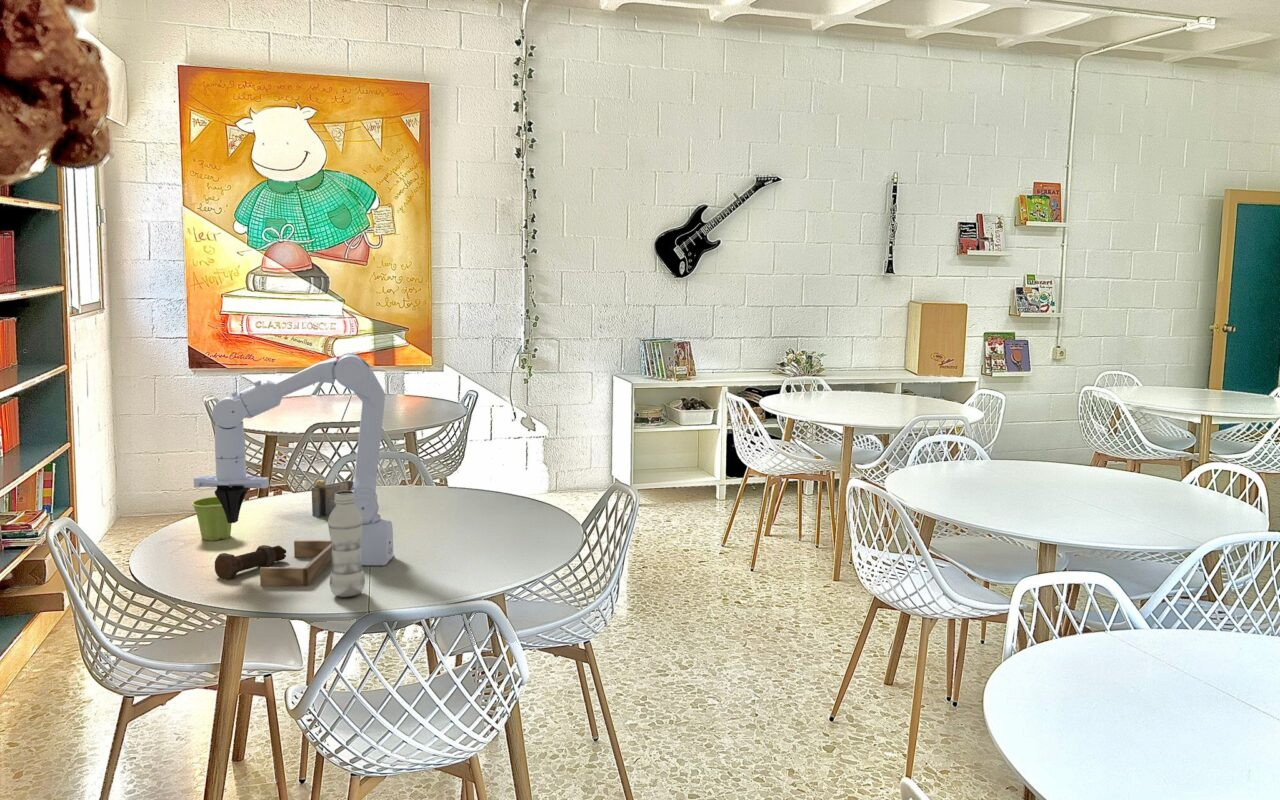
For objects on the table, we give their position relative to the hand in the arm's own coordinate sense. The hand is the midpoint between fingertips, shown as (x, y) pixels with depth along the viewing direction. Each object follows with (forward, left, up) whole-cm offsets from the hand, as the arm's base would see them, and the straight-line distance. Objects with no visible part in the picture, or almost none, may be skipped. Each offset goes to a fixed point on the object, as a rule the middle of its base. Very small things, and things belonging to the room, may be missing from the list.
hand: (232, 521), depth 205 cm
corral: (-13, 0, -10) cm, 17 cm away
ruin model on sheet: (-6, -50, -11) cm, 51 cm away
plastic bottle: (-28, +16, -10) cm, 34 cm away
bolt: (-4, 0, -11) cm, 11 cm away
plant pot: (+14, -25, -10) cm, 31 cm away
